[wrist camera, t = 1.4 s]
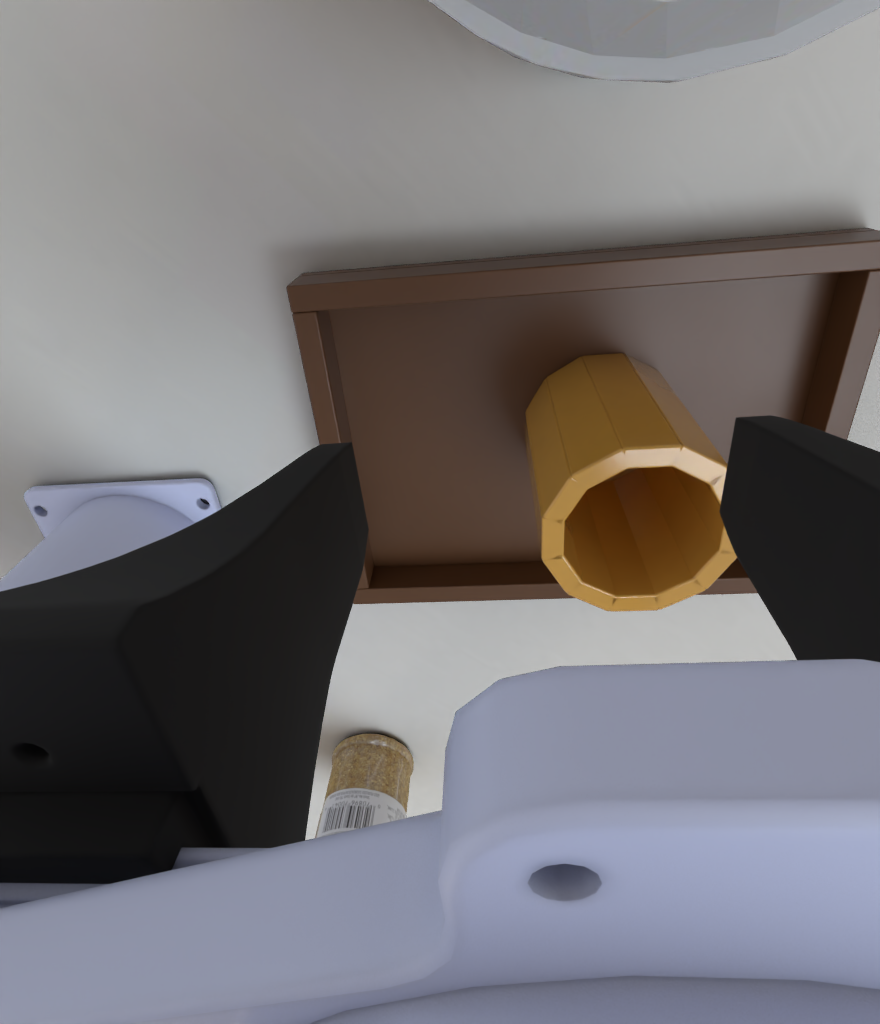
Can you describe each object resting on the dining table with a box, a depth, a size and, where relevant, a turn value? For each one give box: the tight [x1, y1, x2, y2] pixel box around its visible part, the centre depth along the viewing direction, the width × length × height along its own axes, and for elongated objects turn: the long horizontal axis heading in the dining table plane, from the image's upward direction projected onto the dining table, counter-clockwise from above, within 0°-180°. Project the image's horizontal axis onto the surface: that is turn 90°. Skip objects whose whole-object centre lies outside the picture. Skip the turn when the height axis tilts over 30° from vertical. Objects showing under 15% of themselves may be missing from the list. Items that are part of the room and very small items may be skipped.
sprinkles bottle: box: [315, 734, 414, 838], centre depth 28 cm, size 5×5×14 cm
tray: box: [287, 228, 880, 604], centre depth 21 cm, size 13×18×2 cm
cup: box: [525, 353, 737, 611], centre depth 19 cm, size 5×5×7 cm
